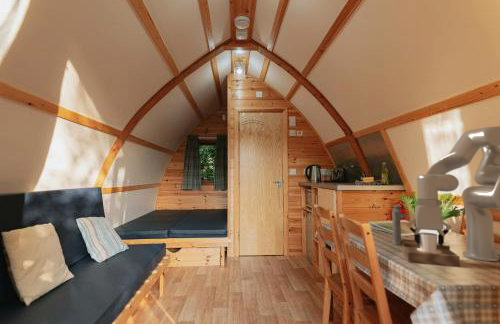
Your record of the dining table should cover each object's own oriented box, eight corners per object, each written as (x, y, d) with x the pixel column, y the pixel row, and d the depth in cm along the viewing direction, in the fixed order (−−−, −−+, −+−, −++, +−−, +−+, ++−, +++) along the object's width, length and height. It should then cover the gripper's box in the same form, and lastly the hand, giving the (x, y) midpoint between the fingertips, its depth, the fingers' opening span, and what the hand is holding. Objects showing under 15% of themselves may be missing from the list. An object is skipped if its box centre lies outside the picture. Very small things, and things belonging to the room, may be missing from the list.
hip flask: (393, 238, 160) (392, 204, 161) (401, 239, 158) (400, 204, 159) (392, 244, 146) (392, 206, 147) (401, 245, 144) (400, 207, 145)
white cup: (441, 252, 115) (440, 235, 115) (423, 251, 116) (422, 234, 116) (433, 248, 121) (432, 232, 122) (416, 247, 123) (415, 231, 123)
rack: (449, 258, 121) (448, 245, 121) (459, 266, 110) (459, 252, 110) (402, 254, 127) (402, 242, 127) (408, 262, 116) (408, 248, 116)
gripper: (448, 203, 120) (449, 243, 119) (403, 201, 126) (404, 240, 125) (454, 204, 113) (456, 248, 112) (406, 203, 119) (408, 244, 118)
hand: (429, 243), depth 119 cm, fingers open, 8 cm apart
